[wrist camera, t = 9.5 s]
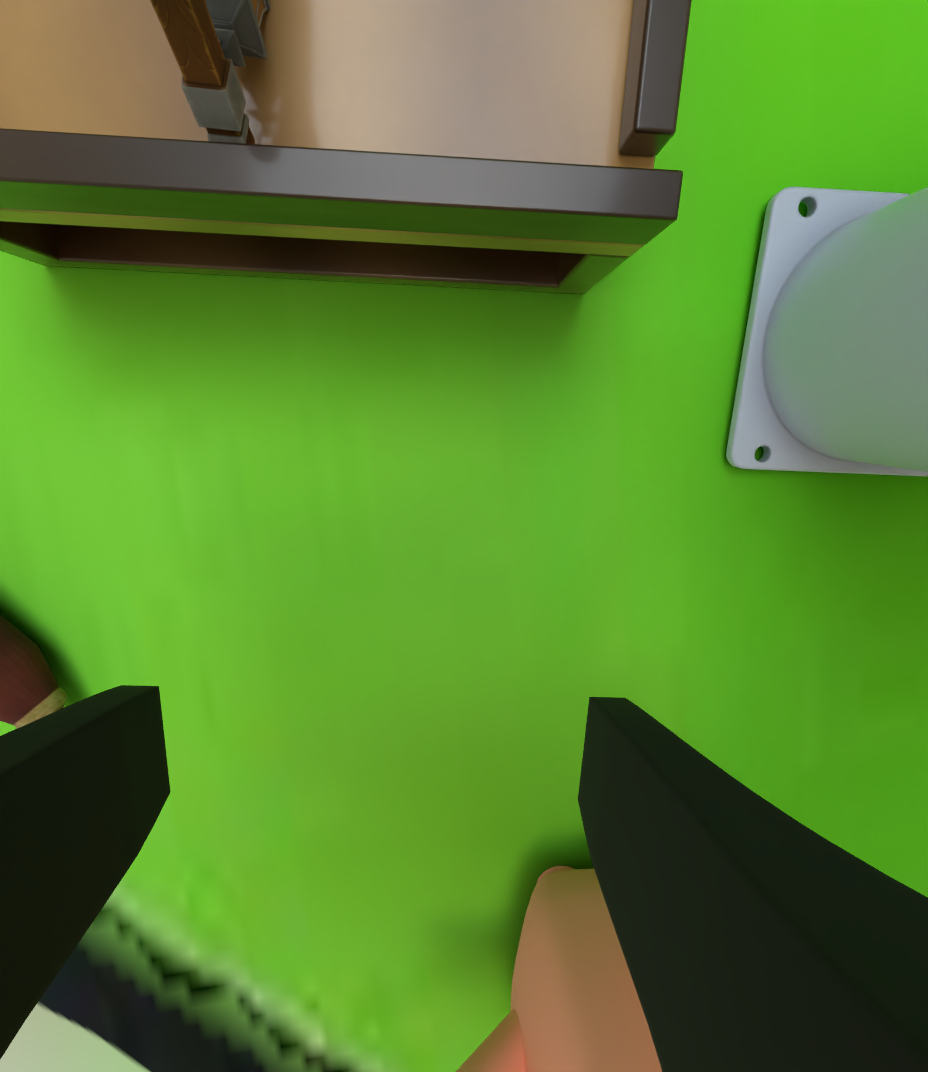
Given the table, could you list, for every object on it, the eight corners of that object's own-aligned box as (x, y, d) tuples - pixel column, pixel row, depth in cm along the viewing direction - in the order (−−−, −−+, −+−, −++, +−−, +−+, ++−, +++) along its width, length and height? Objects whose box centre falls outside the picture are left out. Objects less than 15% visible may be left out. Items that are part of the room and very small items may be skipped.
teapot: (409, 927, 22) (375, 1323, 12) (640, 762, 20) (803, 1077, 11) (579, 1074, 24) (659, 1502, 15) (799, 938, 22) (1050, 1324, 13)
